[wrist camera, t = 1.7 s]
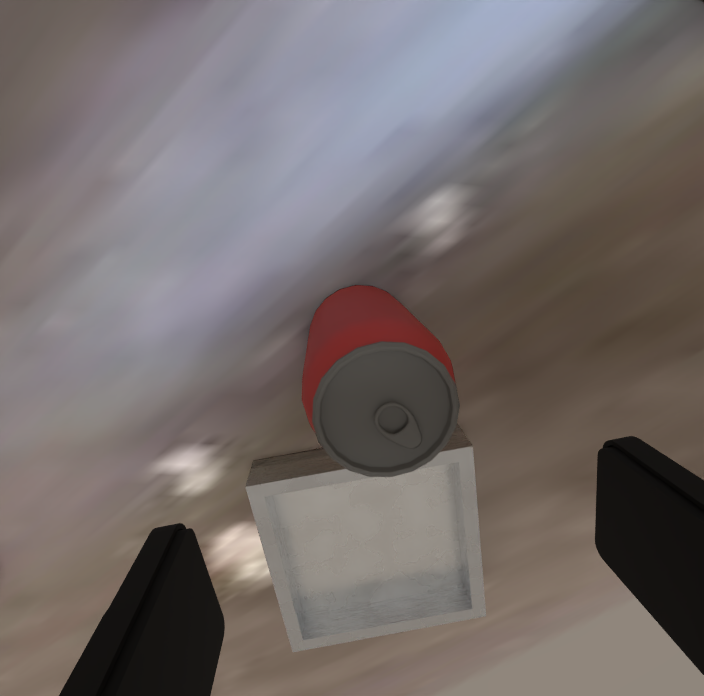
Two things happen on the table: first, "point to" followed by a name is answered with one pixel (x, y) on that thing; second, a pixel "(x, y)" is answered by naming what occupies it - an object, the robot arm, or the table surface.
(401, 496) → the rimmed tray
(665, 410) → the table surface
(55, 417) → the table surface
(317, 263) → the table surface
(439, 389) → the beer can
